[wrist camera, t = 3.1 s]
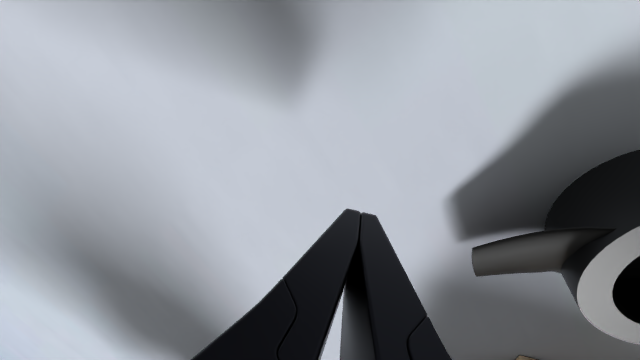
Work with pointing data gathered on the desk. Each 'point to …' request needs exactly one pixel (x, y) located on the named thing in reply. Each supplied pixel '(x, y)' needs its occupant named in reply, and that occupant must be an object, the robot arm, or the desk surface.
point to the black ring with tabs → (586, 246)
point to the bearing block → (524, 358)
